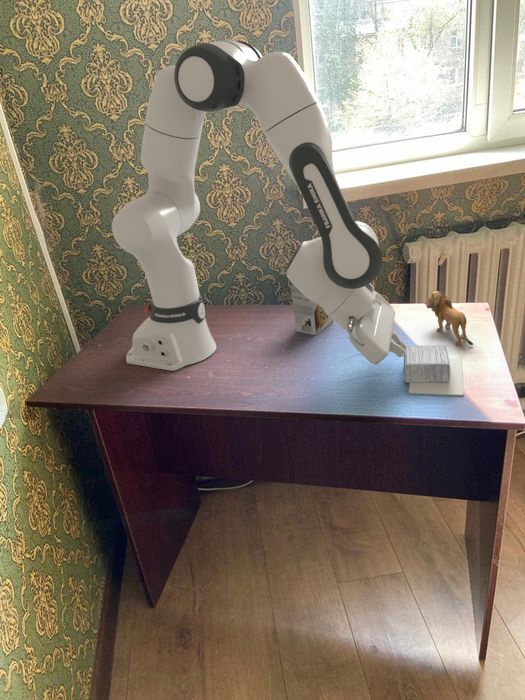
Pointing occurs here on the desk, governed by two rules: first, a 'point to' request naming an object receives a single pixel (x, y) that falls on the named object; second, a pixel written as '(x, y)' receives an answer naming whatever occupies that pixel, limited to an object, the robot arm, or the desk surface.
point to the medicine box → (426, 364)
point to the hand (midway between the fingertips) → (403, 351)
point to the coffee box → (308, 314)
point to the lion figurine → (447, 315)
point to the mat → (442, 383)
